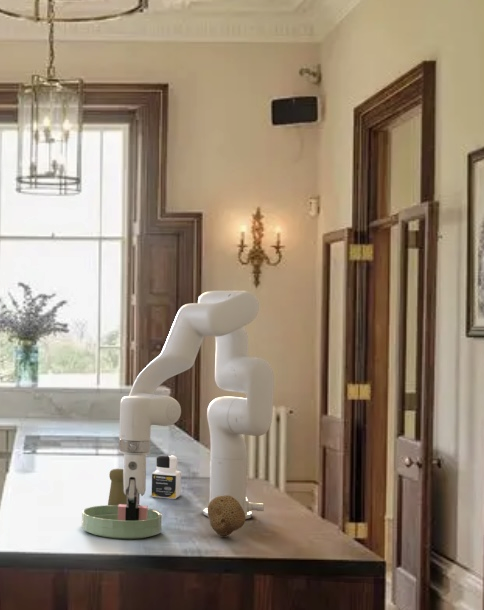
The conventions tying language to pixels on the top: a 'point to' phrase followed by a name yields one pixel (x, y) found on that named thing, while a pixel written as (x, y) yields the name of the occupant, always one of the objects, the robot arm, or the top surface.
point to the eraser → (123, 512)
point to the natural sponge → (225, 515)
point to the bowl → (119, 523)
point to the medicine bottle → (166, 478)
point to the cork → (117, 488)
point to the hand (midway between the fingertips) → (132, 521)
